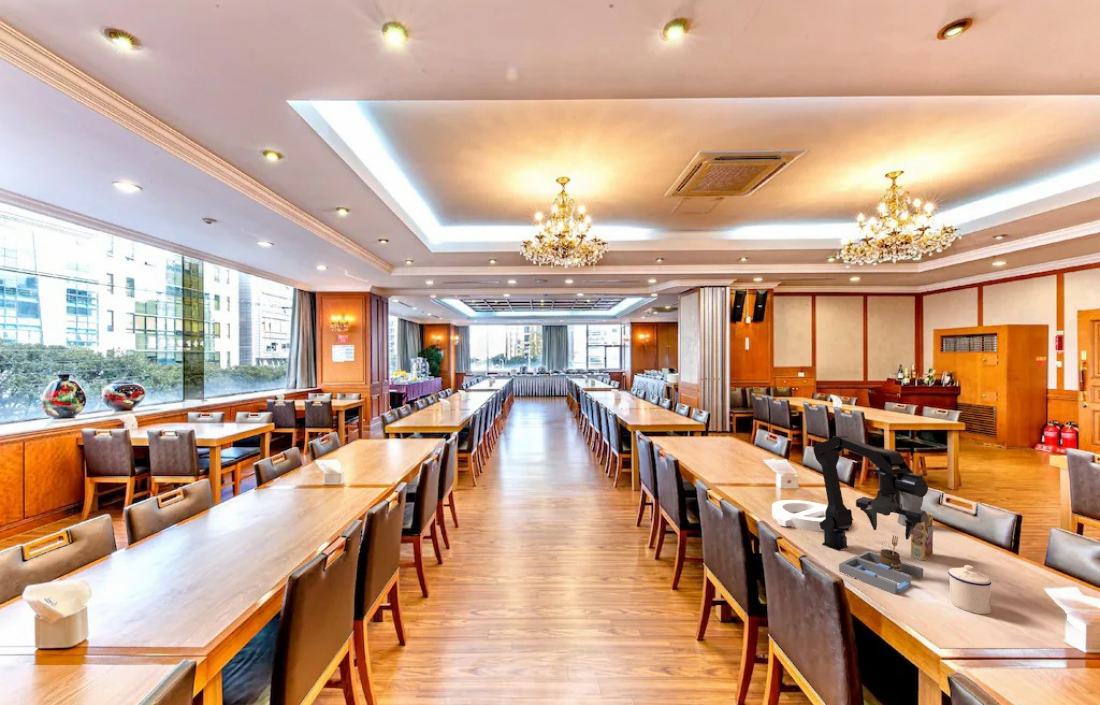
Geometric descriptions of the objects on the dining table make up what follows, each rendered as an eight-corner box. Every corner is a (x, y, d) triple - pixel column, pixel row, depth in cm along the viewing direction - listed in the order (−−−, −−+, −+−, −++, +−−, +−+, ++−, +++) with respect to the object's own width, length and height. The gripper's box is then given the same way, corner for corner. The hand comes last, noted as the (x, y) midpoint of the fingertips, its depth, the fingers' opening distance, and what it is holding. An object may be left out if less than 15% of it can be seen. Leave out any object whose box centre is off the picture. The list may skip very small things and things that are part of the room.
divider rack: (839, 572, 148) (839, 562, 148) (868, 558, 158) (868, 548, 158) (895, 594, 134) (895, 582, 134) (924, 577, 144) (923, 567, 144)
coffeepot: (911, 519, 196) (911, 479, 196) (934, 527, 186) (933, 485, 187) (884, 522, 192) (883, 481, 193) (905, 530, 183) (904, 487, 183)
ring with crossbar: (779, 528, 187) (778, 517, 187) (766, 507, 214) (766, 497, 214) (854, 535, 179) (854, 524, 179) (832, 512, 206) (831, 502, 206)
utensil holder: (875, 571, 149) (874, 535, 149) (886, 567, 151) (886, 532, 151) (895, 578, 143) (894, 542, 144) (906, 575, 146) (905, 539, 146)
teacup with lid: (1001, 616, 122) (1000, 574, 122) (964, 614, 123) (963, 572, 124) (967, 594, 134) (966, 555, 134) (934, 591, 135) (933, 554, 136)
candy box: (925, 561, 155) (924, 518, 155) (910, 557, 159) (909, 515, 159) (934, 555, 160) (933, 513, 160) (919, 551, 164) (918, 510, 164)
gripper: (847, 485, 152) (848, 530, 151) (913, 499, 136) (914, 550, 135) (863, 480, 157) (863, 523, 157) (927, 493, 141) (929, 542, 141)
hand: (890, 534), depth 148 cm, fingers open, 9 cm apart
